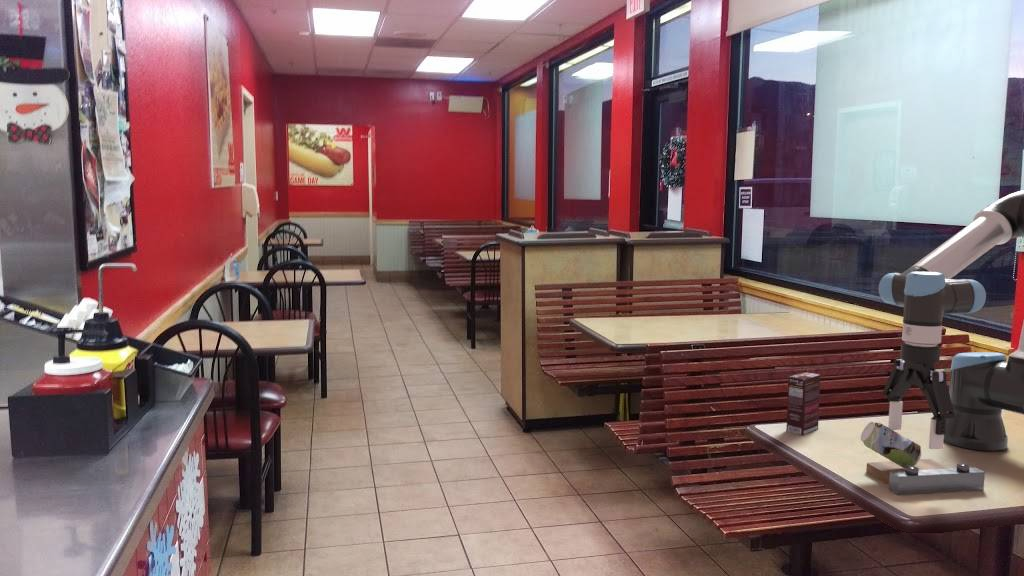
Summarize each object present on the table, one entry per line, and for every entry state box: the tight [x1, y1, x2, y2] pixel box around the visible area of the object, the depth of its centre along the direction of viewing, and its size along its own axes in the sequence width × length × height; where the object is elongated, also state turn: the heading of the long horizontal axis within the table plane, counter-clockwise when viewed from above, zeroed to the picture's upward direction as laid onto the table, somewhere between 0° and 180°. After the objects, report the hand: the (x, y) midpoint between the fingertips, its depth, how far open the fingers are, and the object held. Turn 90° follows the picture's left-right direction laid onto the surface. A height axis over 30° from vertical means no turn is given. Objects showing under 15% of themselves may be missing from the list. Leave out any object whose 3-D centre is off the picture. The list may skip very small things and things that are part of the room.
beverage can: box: [860, 421, 923, 469], centre depth 170 cm, size 6×7×12 cm
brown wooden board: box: [865, 458, 950, 486], centre depth 171 cm, size 16×10×3 cm, turn 100°
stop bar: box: [888, 462, 986, 496], centre depth 164 cm, size 20×3×5 cm, turn 99°
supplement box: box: [785, 371, 821, 436], centre depth 202 cm, size 9×5×16 cm, turn 131°
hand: (914, 438), depth 169 cm, fingers open, 13 cm apart
